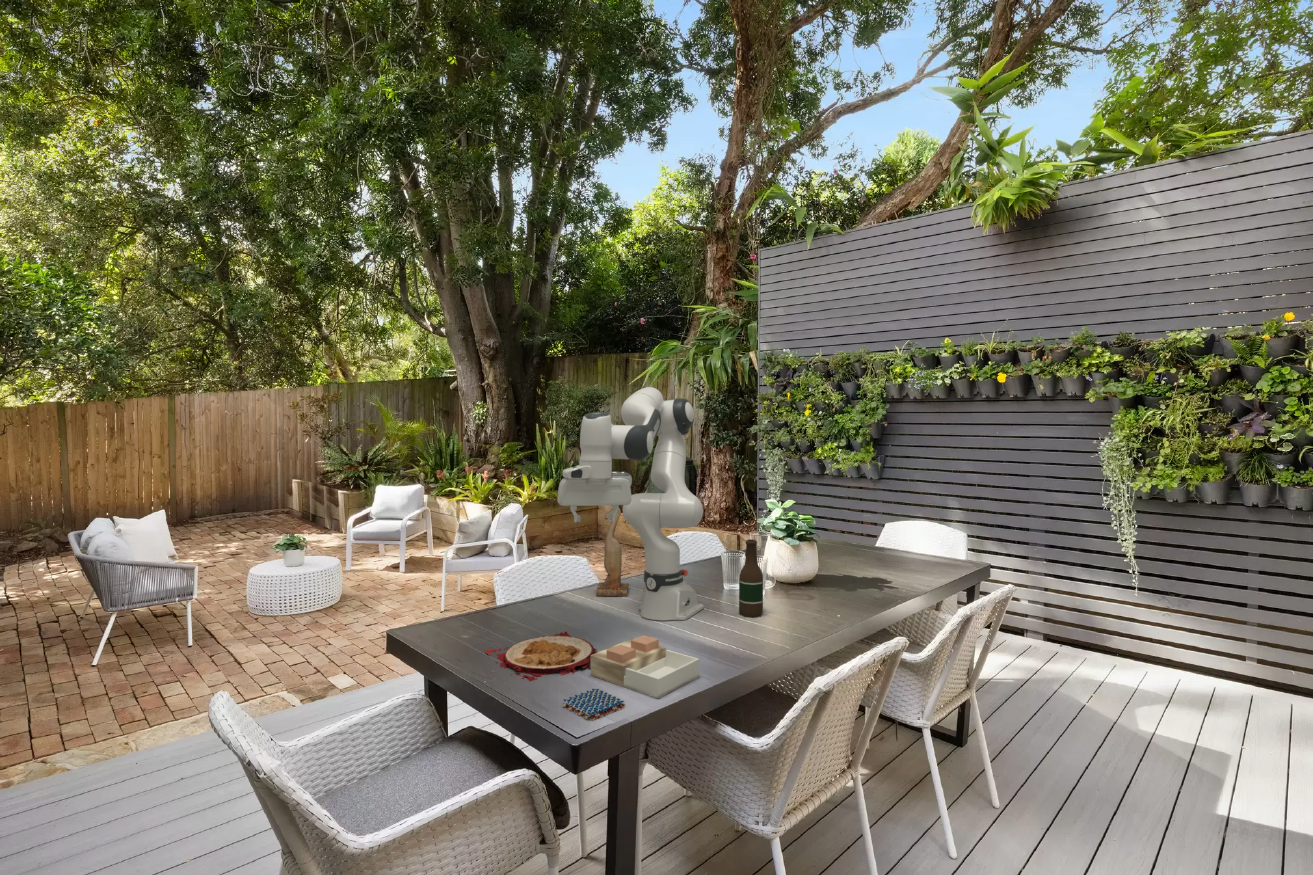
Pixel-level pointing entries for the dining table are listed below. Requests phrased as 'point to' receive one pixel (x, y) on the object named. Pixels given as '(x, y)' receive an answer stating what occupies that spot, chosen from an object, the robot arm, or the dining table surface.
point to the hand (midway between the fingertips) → (594, 521)
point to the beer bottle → (751, 584)
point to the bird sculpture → (612, 563)
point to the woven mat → (594, 704)
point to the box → (663, 675)
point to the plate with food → (547, 655)
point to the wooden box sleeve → (617, 670)
